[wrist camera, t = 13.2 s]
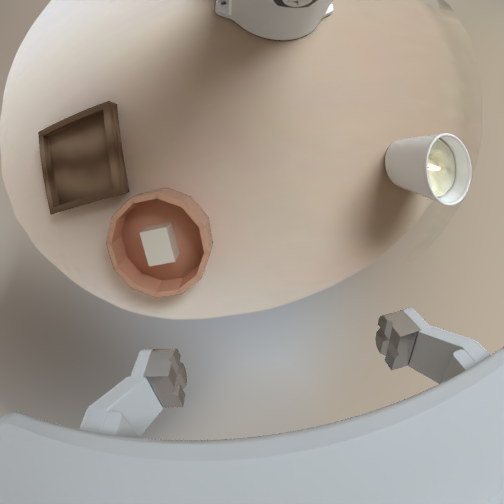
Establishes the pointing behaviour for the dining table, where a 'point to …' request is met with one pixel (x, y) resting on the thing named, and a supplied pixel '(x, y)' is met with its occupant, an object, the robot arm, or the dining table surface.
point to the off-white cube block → (159, 243)
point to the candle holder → (430, 167)
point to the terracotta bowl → (186, 232)
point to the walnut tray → (83, 158)
